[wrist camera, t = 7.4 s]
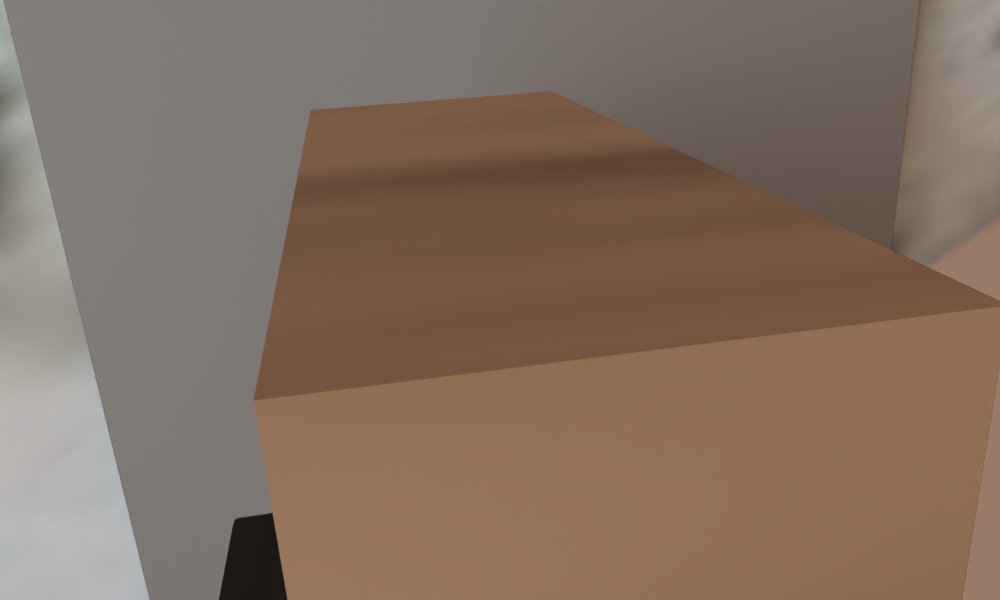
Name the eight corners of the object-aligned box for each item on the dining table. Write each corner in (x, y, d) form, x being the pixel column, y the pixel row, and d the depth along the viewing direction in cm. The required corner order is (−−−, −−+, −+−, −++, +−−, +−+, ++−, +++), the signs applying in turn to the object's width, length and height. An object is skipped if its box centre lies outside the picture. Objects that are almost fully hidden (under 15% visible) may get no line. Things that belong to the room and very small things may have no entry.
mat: (-3, -62, 14) (-13, -63, 13) (918, -105, 16) (931, -107, 16) (166, 640, 19) (163, 654, 18) (848, 526, 21) (858, 536, 21)
